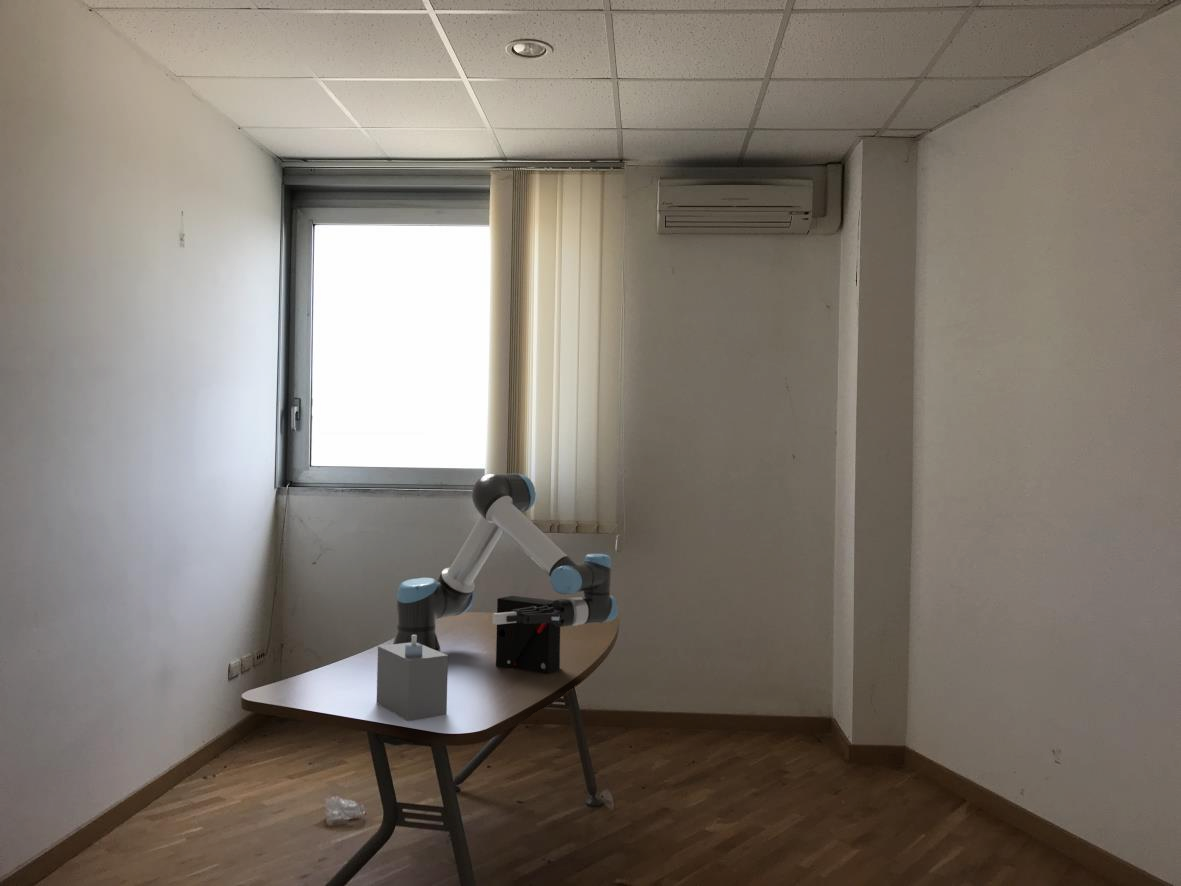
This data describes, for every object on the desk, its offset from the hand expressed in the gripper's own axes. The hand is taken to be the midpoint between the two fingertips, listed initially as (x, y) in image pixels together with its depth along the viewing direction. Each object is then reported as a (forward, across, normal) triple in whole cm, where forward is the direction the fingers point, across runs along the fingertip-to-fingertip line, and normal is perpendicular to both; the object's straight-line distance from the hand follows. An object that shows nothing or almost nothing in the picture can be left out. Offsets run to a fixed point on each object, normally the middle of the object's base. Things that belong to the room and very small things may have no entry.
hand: (494, 619), depth 227 cm
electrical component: (-23, +18, -20) cm, 36 cm away
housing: (+23, -2, -20) cm, 31 cm away
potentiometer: (+26, -7, -5) cm, 27 cm away
